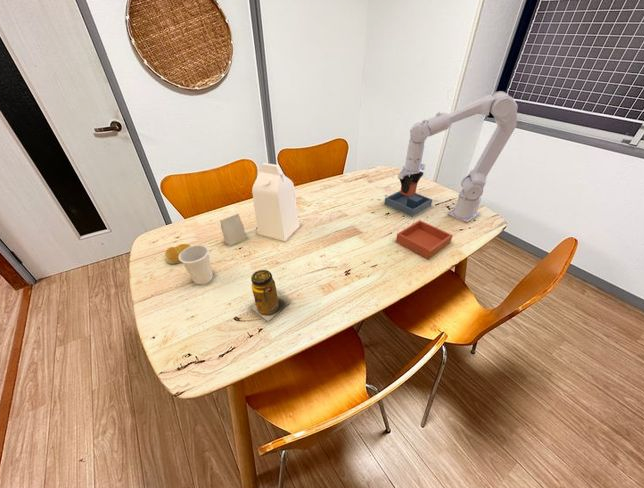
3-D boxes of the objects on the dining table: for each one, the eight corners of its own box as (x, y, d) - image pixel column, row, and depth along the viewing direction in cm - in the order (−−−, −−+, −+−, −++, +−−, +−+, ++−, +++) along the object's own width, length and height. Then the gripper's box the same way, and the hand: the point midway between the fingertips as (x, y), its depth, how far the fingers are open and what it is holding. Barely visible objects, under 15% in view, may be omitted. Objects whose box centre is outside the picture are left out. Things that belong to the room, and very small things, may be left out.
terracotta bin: (417, 227, 107) (419, 220, 105) (450, 243, 99) (452, 235, 97) (395, 241, 100) (397, 233, 98) (428, 259, 92) (430, 251, 90)
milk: (299, 225, 110) (294, 161, 94) (284, 241, 102) (275, 173, 86) (274, 219, 114) (264, 156, 98) (258, 234, 106) (244, 168, 90)
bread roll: (197, 257, 96) (193, 248, 93) (169, 267, 92) (164, 258, 89) (191, 245, 101) (188, 236, 98) (165, 254, 97) (160, 245, 95)
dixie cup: (201, 291, 83) (190, 266, 77) (183, 281, 86) (172, 256, 80) (222, 274, 88) (214, 250, 82) (205, 266, 92) (196, 241, 86)
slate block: (412, 203, 121) (413, 194, 118) (420, 207, 119) (422, 198, 116) (405, 207, 119) (407, 198, 116) (414, 211, 116) (416, 201, 114)
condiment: (250, 308, 77) (242, 277, 70) (273, 291, 82) (267, 260, 75) (268, 321, 73) (260, 290, 66) (290, 303, 78) (286, 271, 71)
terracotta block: (406, 190, 116) (408, 180, 114) (415, 193, 114) (417, 183, 111) (400, 193, 114) (401, 183, 112) (408, 196, 112) (410, 186, 109)
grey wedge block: (246, 238, 104) (240, 215, 98) (229, 246, 100) (222, 222, 94) (241, 234, 106) (236, 211, 100) (225, 241, 103) (218, 218, 96)
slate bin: (403, 195, 129) (404, 188, 127) (430, 207, 120) (432, 199, 118) (384, 205, 122) (385, 197, 120) (411, 218, 113) (413, 210, 111)
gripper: (416, 150, 111) (411, 182, 119) (393, 159, 104) (389, 192, 112) (432, 155, 107) (425, 187, 115) (409, 164, 99) (403, 198, 108)
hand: (408, 190), depth 113 cm, fingers closed on terracotta block, 4 cm apart
